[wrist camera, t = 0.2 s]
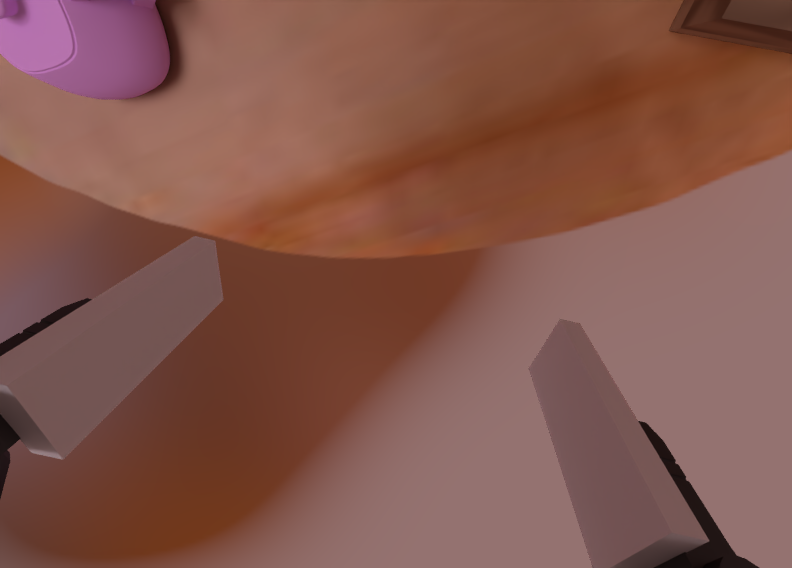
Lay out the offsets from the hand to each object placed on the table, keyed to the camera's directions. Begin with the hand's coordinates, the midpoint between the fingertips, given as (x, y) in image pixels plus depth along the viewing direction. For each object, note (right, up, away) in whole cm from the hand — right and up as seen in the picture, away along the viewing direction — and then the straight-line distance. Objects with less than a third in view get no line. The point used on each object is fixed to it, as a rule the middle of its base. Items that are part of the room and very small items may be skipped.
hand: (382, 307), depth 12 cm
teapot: (-29, +28, +20) cm, 44 cm away
